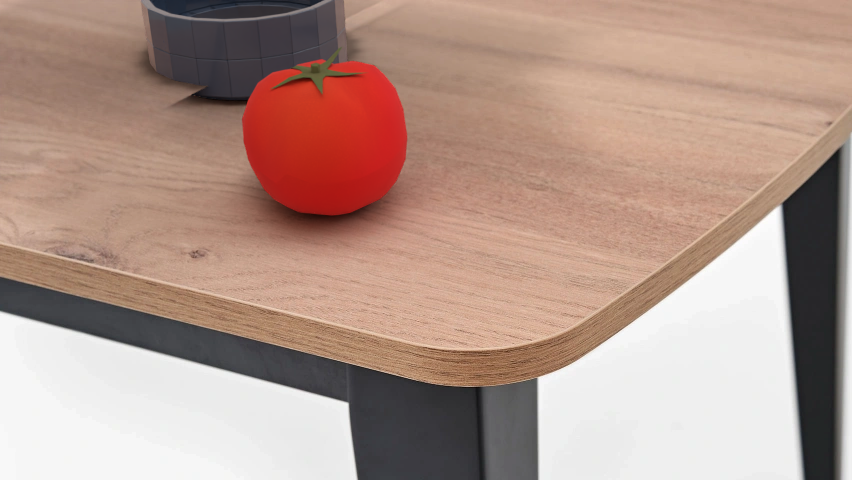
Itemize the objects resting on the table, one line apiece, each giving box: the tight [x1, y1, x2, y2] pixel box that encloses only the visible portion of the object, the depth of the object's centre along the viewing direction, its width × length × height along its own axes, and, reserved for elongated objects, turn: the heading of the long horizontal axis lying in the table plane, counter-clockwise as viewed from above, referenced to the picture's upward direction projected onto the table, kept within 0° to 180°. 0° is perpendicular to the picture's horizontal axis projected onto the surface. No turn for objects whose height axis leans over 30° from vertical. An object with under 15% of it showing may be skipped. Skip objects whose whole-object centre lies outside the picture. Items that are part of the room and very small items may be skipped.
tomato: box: [241, 46, 408, 216], centre depth 68 cm, size 9×10×8 cm
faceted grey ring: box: [140, 0, 349, 101], centre depth 88 cm, size 14×14×6 cm
